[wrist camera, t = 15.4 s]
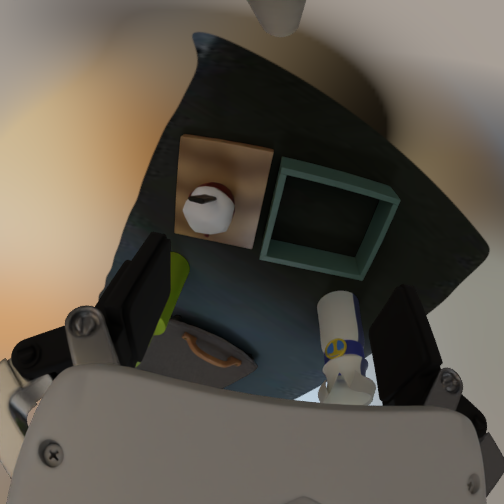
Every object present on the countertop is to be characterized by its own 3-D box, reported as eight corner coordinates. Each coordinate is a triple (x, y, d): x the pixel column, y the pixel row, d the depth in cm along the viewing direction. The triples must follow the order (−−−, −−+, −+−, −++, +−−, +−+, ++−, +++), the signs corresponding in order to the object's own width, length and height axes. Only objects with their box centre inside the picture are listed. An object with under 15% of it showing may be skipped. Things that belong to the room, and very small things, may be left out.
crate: (282, 156, 36) (281, 167, 32) (390, 186, 36) (400, 199, 33) (261, 241, 44) (259, 259, 40) (357, 262, 44) (362, 280, 41)
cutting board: (184, 133, 35) (180, 136, 34) (274, 149, 36) (273, 152, 34) (177, 228, 44) (174, 233, 43) (253, 243, 44) (252, 249, 43)
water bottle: (304, 302, 50) (304, 438, 30) (348, 282, 47) (369, 423, 27) (326, 327, 54) (331, 451, 34) (366, 309, 50) (387, 437, 30)
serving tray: (189, 399, 80) (185, 416, 75) (122, 365, 74) (114, 382, 69) (269, 353, 60) (267, 376, 55) (175, 300, 54) (165, 324, 49)
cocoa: (219, 230, 42) (198, 286, 32) (182, 207, 40) (149, 257, 31) (256, 180, 37) (244, 227, 27) (216, 154, 35) (187, 191, 26)
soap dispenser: (161, 241, 46) (107, 336, 30) (195, 265, 48) (156, 365, 32) (147, 262, 49) (97, 352, 33) (179, 283, 51) (141, 378, 35)
